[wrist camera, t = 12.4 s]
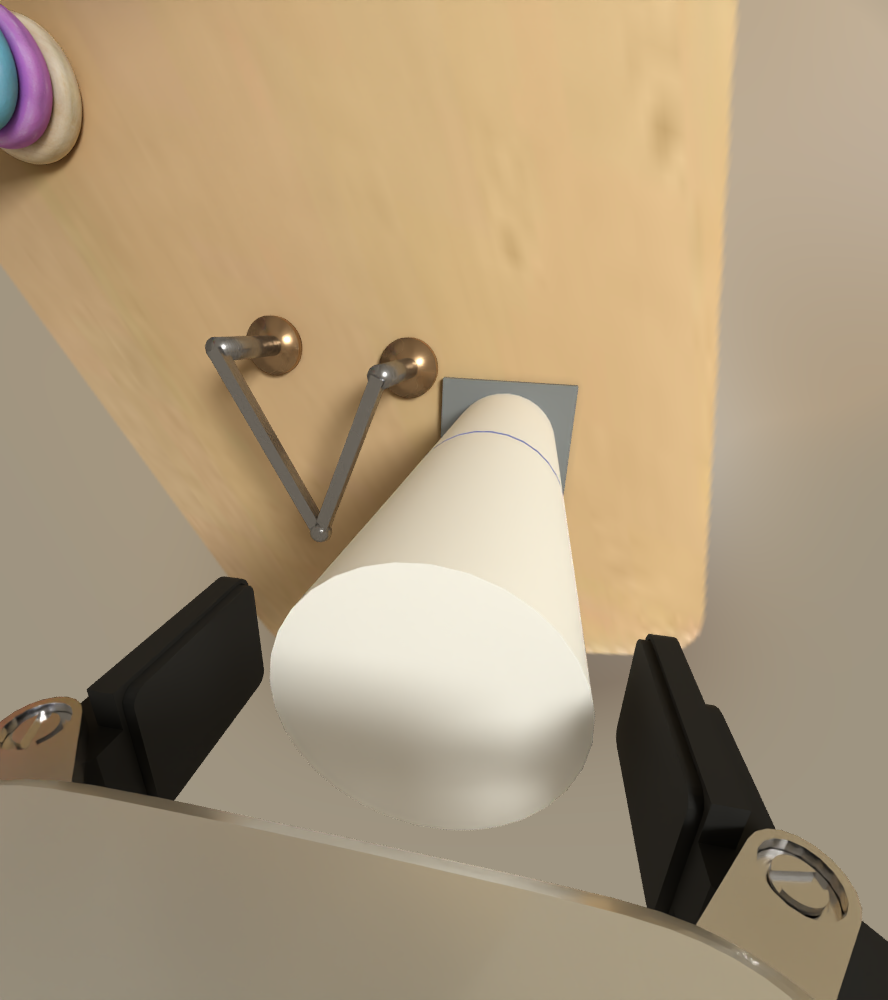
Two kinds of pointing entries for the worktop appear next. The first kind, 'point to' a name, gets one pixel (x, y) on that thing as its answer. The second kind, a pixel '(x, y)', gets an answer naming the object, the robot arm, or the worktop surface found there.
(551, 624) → the cylindrical container
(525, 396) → the mat
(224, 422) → the worktop surface
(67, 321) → the worktop surface
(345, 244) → the worktop surface
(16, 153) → the stacking toy
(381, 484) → the worktop surface
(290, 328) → the metal linkage
